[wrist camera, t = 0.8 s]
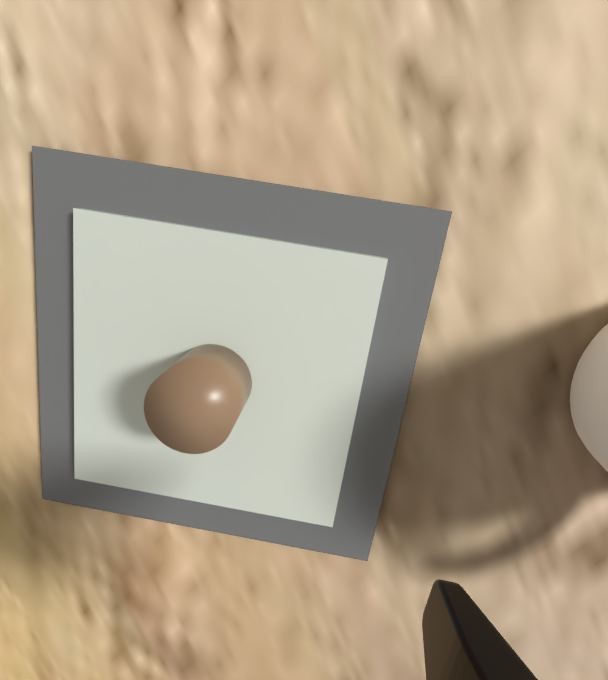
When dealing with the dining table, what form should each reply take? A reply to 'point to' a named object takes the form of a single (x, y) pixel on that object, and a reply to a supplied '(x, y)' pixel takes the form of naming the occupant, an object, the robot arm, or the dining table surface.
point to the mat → (255, 220)
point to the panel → (218, 363)
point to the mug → (592, 397)
